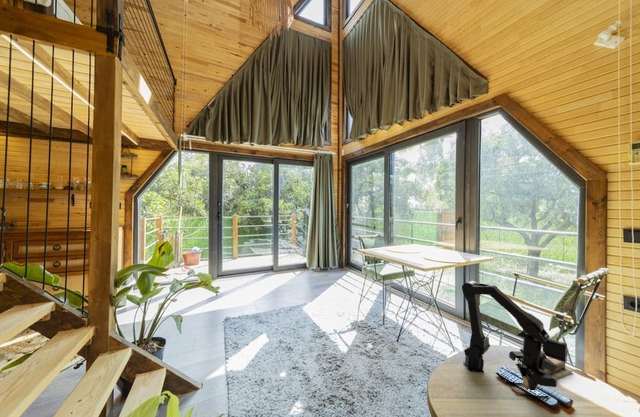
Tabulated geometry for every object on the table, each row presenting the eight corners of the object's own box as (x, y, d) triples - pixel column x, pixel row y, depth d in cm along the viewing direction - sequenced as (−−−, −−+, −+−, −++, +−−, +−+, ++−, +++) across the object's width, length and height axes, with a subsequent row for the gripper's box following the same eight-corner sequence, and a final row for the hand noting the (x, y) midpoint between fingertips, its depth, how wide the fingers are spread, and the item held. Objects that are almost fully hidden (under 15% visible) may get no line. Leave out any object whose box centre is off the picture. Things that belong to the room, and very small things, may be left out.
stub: (515, 394, 105) (516, 379, 105) (511, 389, 108) (512, 374, 108) (548, 397, 104) (549, 382, 104) (543, 392, 107) (543, 377, 106)
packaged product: (551, 371, 113) (525, 359, 123) (550, 383, 113) (524, 369, 123) (573, 363, 121) (547, 351, 130) (572, 373, 121) (546, 361, 130)
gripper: (573, 366, 95) (571, 408, 96) (536, 340, 114) (534, 375, 114) (540, 363, 96) (538, 405, 97) (509, 337, 115) (507, 372, 115)
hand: (529, 388), depth 106 cm, fingers closed on stub, 2 cm apart
